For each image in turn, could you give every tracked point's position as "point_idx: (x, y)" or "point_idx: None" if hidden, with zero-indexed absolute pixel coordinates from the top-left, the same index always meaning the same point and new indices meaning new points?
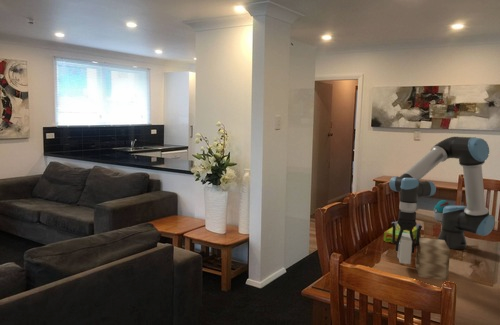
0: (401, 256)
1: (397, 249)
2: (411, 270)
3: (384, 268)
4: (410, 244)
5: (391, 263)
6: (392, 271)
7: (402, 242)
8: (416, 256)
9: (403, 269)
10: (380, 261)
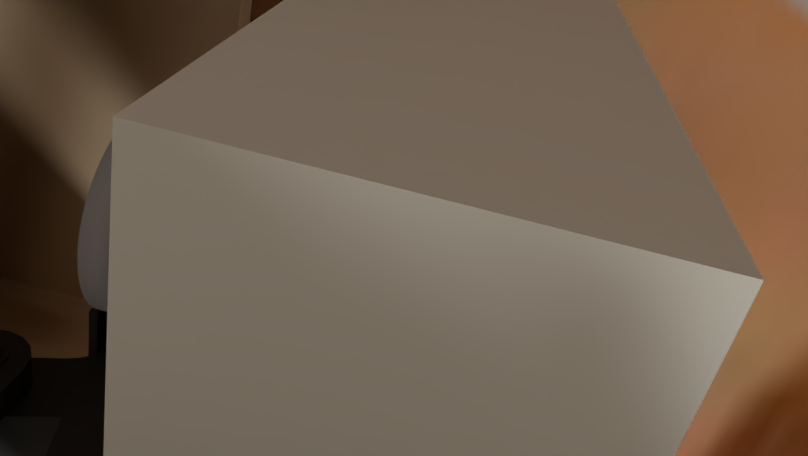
0: (597, 14)
1: None
2: None
3: (782, 149)
4: (259, 67)
5: None
6: (690, 21)
7: (663, 192)
8: None
9: None
10: (710, 425)
